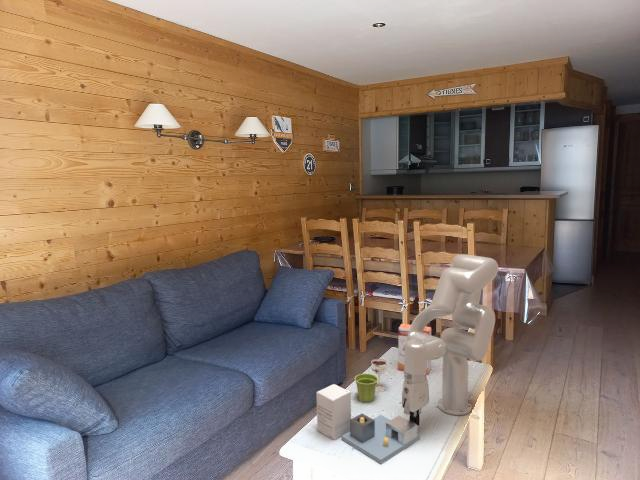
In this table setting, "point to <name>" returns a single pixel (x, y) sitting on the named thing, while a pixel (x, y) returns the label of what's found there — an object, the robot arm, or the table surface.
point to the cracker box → (401, 345)
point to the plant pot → (366, 386)
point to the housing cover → (401, 429)
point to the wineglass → (379, 370)
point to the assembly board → (379, 442)
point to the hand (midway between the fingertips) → (414, 424)
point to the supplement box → (333, 411)
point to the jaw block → (362, 428)
